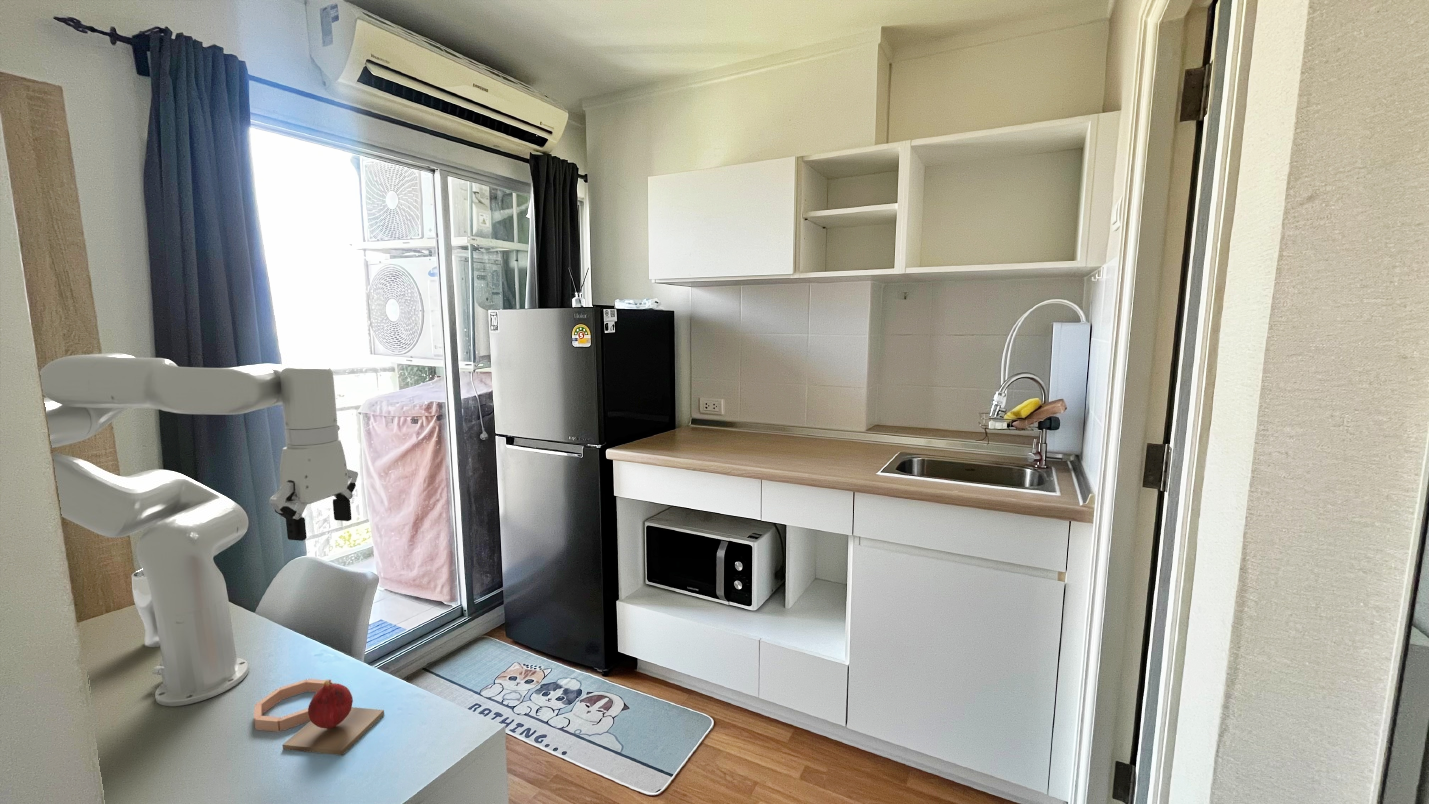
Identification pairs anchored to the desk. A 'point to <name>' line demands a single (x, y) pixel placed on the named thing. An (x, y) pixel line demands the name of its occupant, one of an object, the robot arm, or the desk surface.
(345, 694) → the onion
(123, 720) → the desk surface
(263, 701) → the ring holder
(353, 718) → the board
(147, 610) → the beer glass
